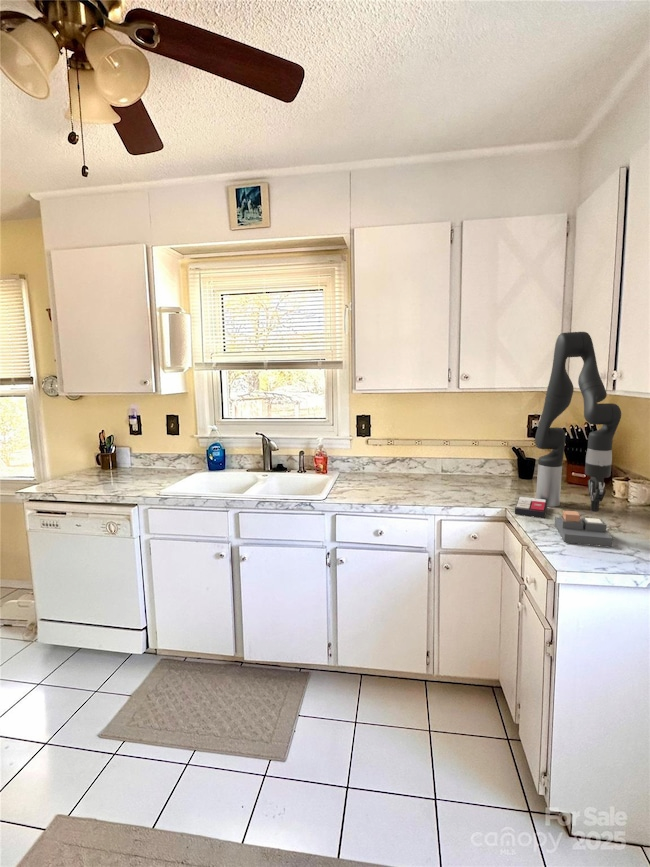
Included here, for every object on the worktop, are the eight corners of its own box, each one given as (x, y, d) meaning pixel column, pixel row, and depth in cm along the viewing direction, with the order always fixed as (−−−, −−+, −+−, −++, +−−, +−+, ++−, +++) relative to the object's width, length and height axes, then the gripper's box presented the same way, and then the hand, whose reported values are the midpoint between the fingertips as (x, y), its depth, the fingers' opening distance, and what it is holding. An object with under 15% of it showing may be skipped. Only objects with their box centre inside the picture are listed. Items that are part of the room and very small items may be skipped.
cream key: (584, 524, 157) (584, 517, 157) (598, 525, 156) (599, 518, 155) (587, 528, 153) (588, 521, 153) (602, 530, 152) (602, 523, 151)
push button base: (554, 524, 166) (555, 510, 166) (596, 528, 162) (597, 513, 161) (564, 542, 149) (565, 526, 149) (612, 547, 145) (613, 531, 144)
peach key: (562, 517, 159) (563, 510, 159) (576, 518, 158) (577, 511, 157) (565, 521, 155) (565, 514, 154) (579, 522, 153) (580, 515, 153)
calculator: (514, 506, 179) (518, 495, 192) (514, 516, 179) (518, 504, 192) (545, 510, 173) (547, 498, 186) (544, 520, 174) (546, 508, 187)
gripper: (581, 457, 158) (577, 504, 161) (591, 465, 146) (587, 516, 149) (605, 458, 156) (601, 506, 159) (617, 467, 144) (612, 518, 146)
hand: (594, 510), depth 154 cm, fingers closed
